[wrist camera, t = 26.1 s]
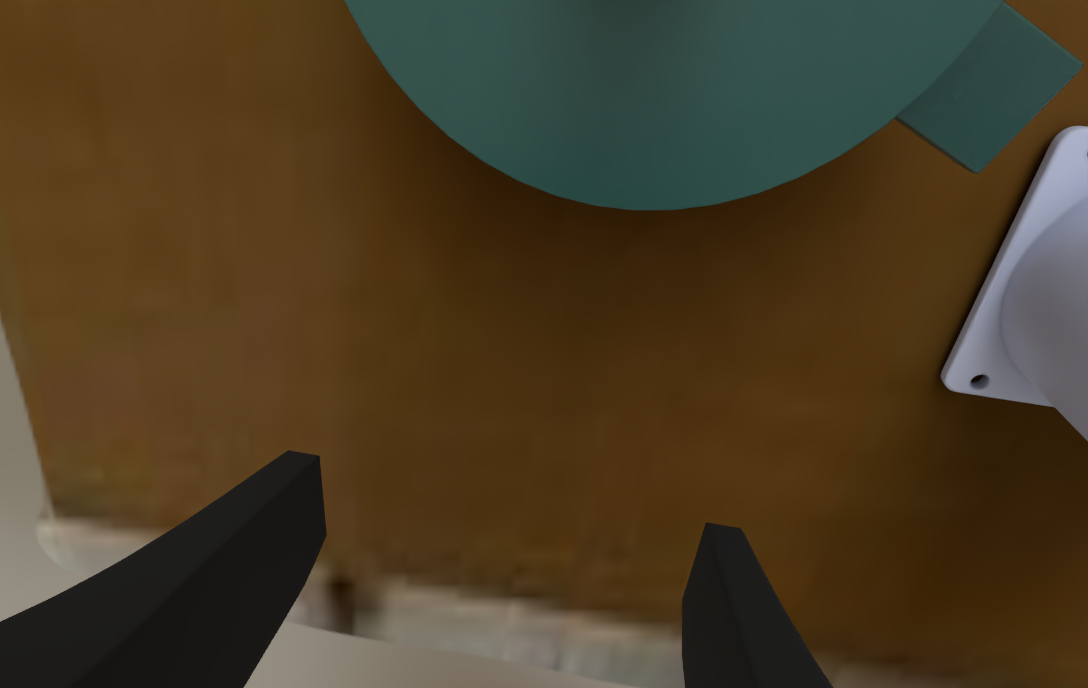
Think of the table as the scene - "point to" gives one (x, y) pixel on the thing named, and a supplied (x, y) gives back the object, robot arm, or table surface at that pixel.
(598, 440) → the table surface
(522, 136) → the lid
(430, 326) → the table surface
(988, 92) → the pot
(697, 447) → the table surface
